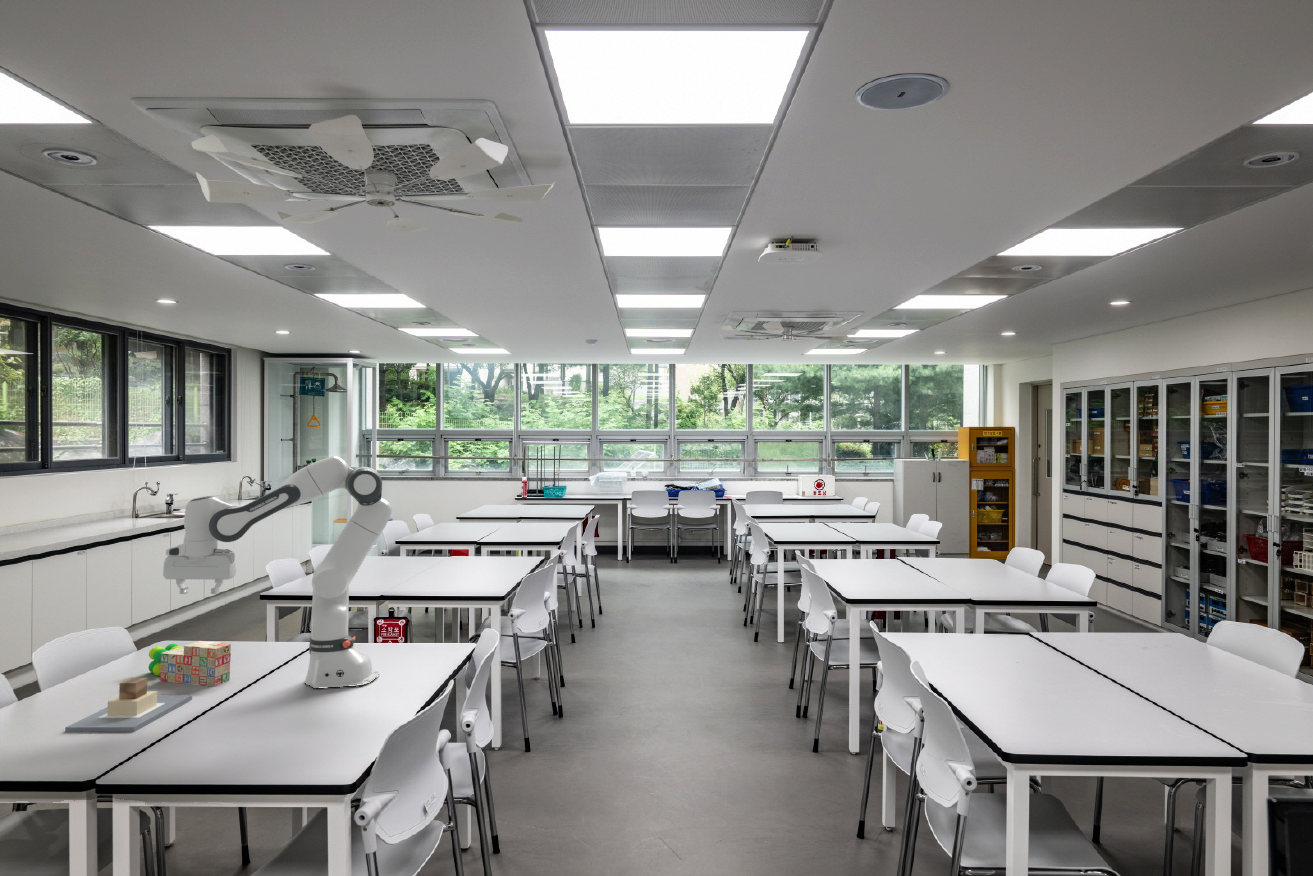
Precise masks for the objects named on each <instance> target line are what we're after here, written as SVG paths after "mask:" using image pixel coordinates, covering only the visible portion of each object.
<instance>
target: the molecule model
mask: <svg viewBox="0 0 1313 876" xmlns="http://www.w3.org/2000/svg"><path fill="white" fill-rule="evenodd" d="M176 648H181V649H184V647H183V646H182V645H181V646H180V645H179V644H177V643H170V644H167V646H165V648H164V647H162V646H154V647H152V648H150V650H149V652H148V657H149V658H150V659H151V660H152V661H150V663H149V664H148V670H149V671H150V672H151V673H152V674H153V675H155V676H157V677H158V676H159V677H160V664H161V662H160V654H161V653H163V652H166V651H169V650H172V649H176Z"/></svg>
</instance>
